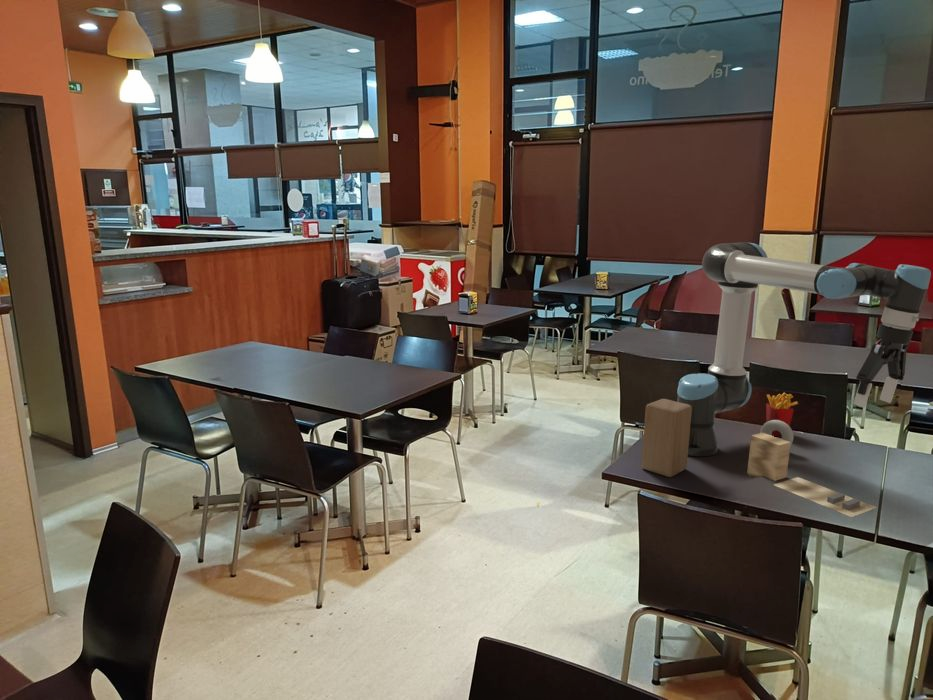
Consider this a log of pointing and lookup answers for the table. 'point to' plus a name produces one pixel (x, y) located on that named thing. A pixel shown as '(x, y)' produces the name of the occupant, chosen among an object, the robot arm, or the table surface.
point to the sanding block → (768, 456)
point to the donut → (778, 429)
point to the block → (666, 437)
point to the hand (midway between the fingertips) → (872, 403)
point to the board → (821, 496)
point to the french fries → (779, 410)
